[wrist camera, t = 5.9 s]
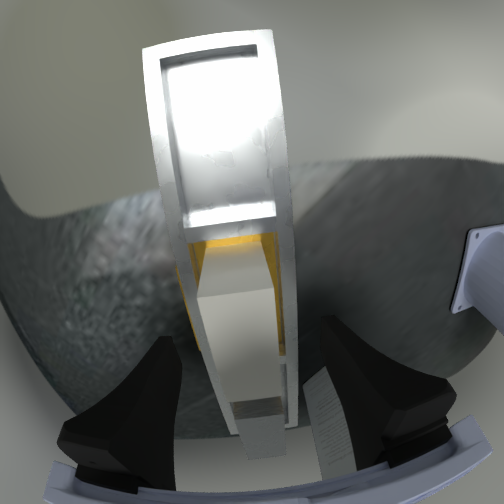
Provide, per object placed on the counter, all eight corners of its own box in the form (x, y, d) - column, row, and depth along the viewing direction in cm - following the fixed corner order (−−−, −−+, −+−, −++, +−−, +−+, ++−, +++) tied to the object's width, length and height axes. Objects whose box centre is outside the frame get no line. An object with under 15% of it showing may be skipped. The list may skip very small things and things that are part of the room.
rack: (266, 42, 11) (286, -4, 6) (293, 409, 23) (304, 458, 18) (150, 59, 11) (111, 25, 6) (229, 417, 23) (230, 467, 18)
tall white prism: (260, 240, 15) (273, 287, 11) (270, 337, 18) (282, 395, 13) (206, 247, 15) (196, 297, 10) (226, 343, 18) (227, 402, 13)
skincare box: (374, 373, 22) (424, 479, 11) (339, 401, 23) (375, 505, 12) (333, 353, 20) (387, 488, 9) (295, 385, 21) (327, 513, 10)
